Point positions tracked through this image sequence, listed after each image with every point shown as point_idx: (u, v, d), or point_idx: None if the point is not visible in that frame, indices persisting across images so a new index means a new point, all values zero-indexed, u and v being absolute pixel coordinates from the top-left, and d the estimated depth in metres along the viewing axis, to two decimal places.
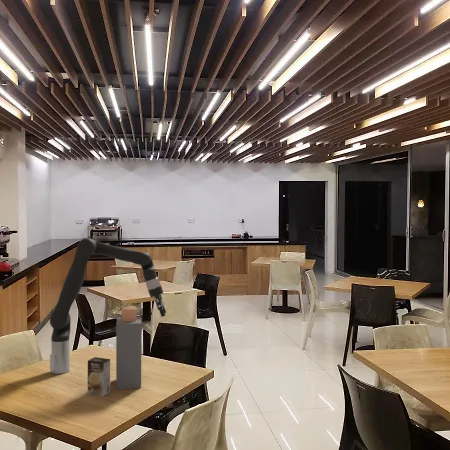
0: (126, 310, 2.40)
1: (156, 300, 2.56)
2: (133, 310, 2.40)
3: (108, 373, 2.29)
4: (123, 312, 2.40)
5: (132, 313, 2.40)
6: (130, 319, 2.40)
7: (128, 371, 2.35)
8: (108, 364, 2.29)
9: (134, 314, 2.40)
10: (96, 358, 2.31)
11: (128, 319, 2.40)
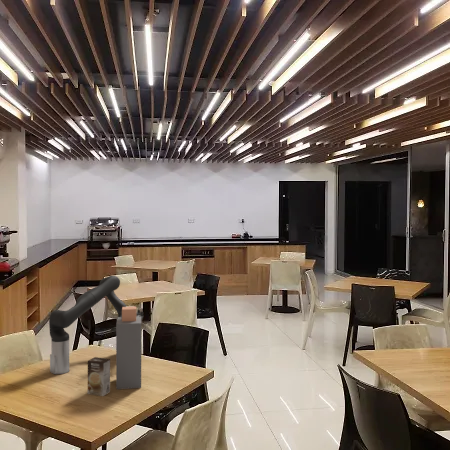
0: (126, 310, 2.40)
1: None
2: (133, 310, 2.40)
3: (108, 373, 2.29)
4: (123, 312, 2.40)
5: (132, 313, 2.40)
6: (130, 319, 2.40)
7: (128, 371, 2.35)
8: (108, 364, 2.29)
9: (134, 314, 2.40)
10: (96, 358, 2.31)
11: (128, 319, 2.40)
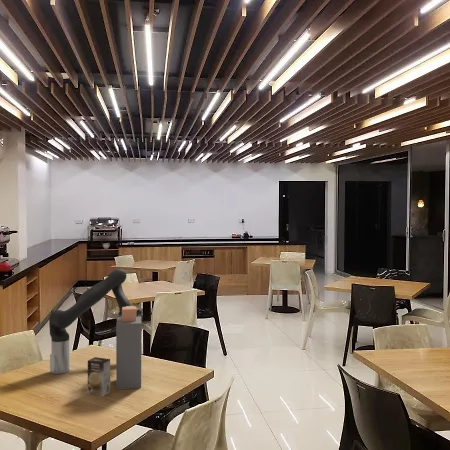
0: (126, 310, 2.40)
1: (142, 313, 2.63)
2: (133, 310, 2.40)
3: (108, 373, 2.29)
4: (123, 312, 2.40)
5: (132, 313, 2.40)
6: (130, 319, 2.40)
7: (128, 371, 2.35)
8: (108, 364, 2.29)
9: (134, 314, 2.40)
10: (96, 358, 2.31)
11: (128, 319, 2.40)
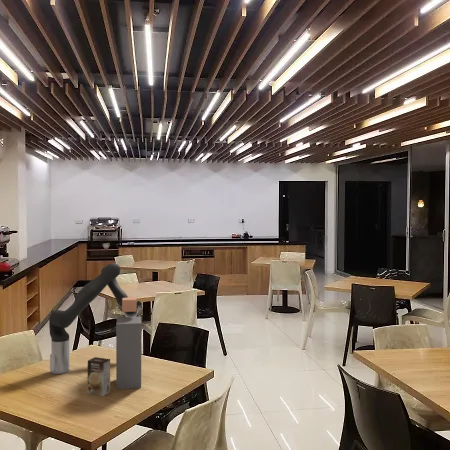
0: (126, 301, 2.45)
1: (142, 304, 2.67)
2: (133, 301, 2.45)
3: (108, 373, 2.29)
4: (123, 303, 2.44)
5: (132, 304, 2.45)
6: (130, 310, 2.45)
7: (128, 371, 2.35)
8: (108, 364, 2.29)
9: (134, 305, 2.45)
10: (96, 358, 2.31)
11: (128, 310, 2.45)
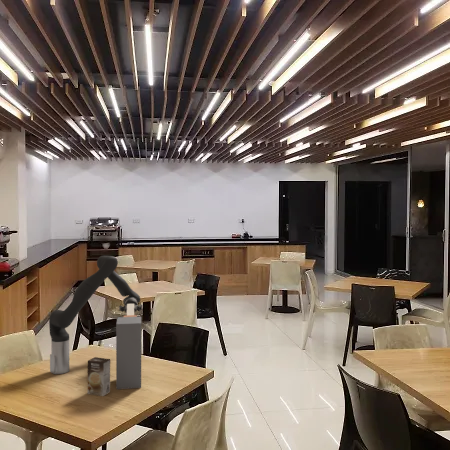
0: None
1: (142, 306, 2.78)
2: None
3: (108, 373, 2.29)
4: None
5: None
6: None
7: (128, 371, 2.35)
8: (108, 364, 2.29)
9: None
10: (96, 358, 2.31)
11: None
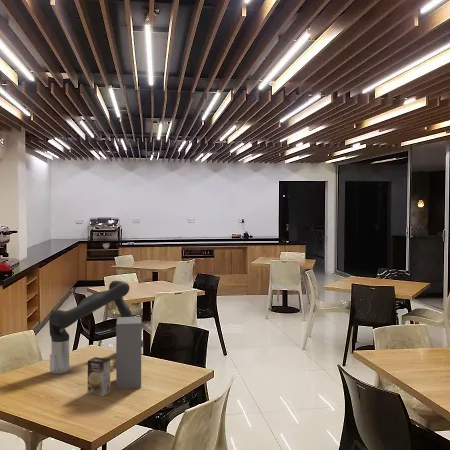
0: None
1: (142, 341, 2.80)
2: None
3: (108, 373, 2.29)
4: None
5: None
6: None
7: (128, 371, 2.35)
8: (108, 364, 2.29)
9: None
10: (96, 358, 2.31)
11: None
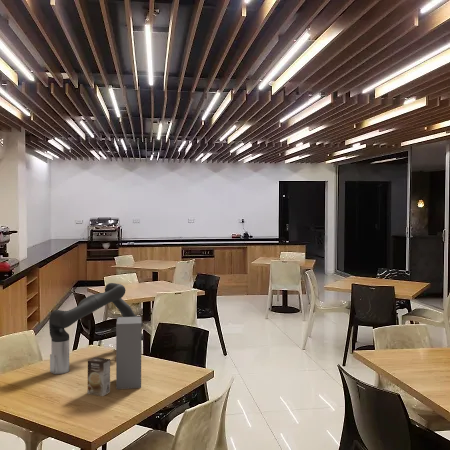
0: None
1: None
2: None
3: (108, 373, 2.29)
4: None
5: None
6: None
7: (128, 371, 2.35)
8: (108, 364, 2.29)
9: None
10: (96, 358, 2.31)
11: None
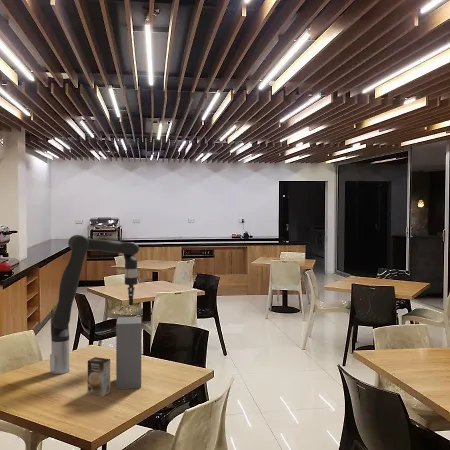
0: None
1: (130, 289, 2.75)
2: None
3: (108, 373, 2.29)
4: None
5: None
6: None
7: (128, 371, 2.35)
8: (108, 364, 2.29)
9: None
10: (96, 358, 2.31)
11: None
